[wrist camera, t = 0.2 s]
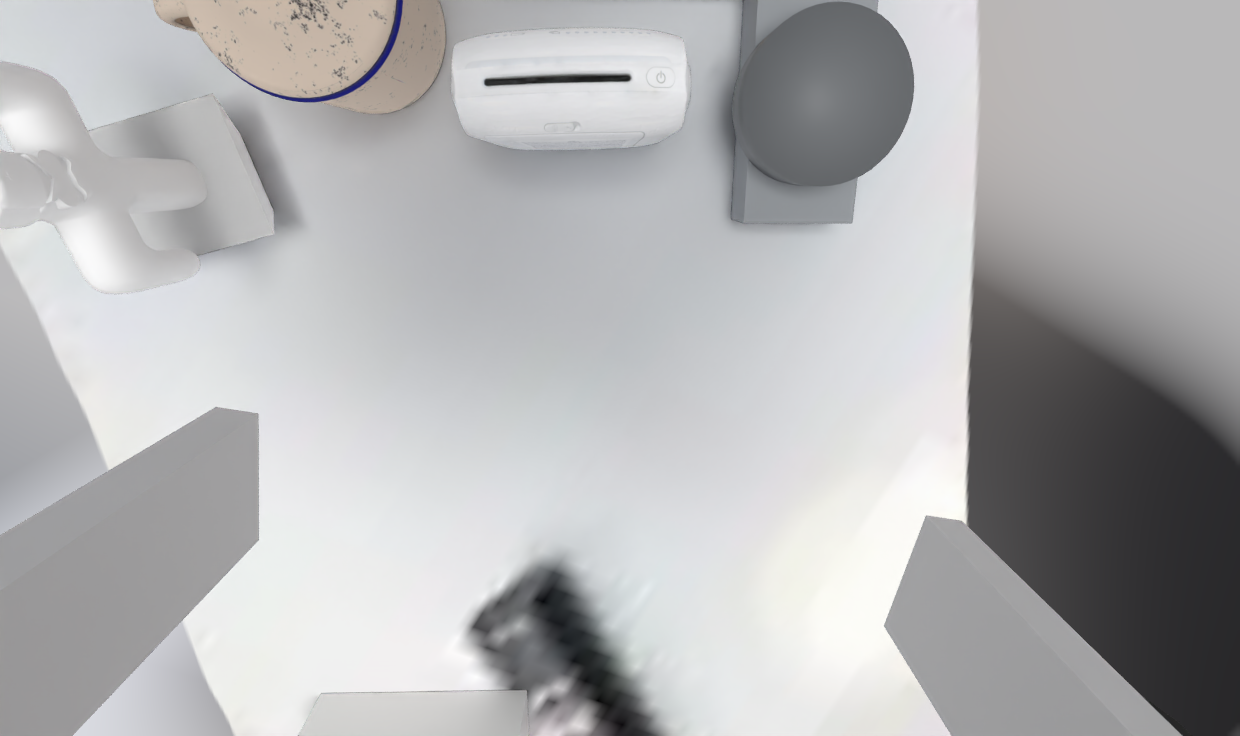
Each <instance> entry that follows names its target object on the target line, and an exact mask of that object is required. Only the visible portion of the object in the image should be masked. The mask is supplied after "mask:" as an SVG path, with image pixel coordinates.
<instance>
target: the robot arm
mask: <svg viewBox="0 0 1240 736" xmlns="http://www.w3.org/2000/svg"><path fill="white" fill-rule="evenodd" d="M258 540H259V425H258V413H251V412H245V411H238V410H231V409H225V408H218V407H215V408H214V409H212V410H210V411H209V412H207V413H205V414H203V415H202V416H200V417H198V418H197V419H195V420H193V421H192V422H190V423H188V424H187V425H185V426H183V427H182V428H180V429H178V430H177V431H175V432H173V433H171V434H170V435H168V436H166V437H165V438H163V439H161V440H160V441H158V442H156V443H155V444H153V445H151V446H150V447H148V448H146V449H145V450H143V451H141V452H140V453H138V454H136V455H134V456H133V457H131V458H129V459H128V460H126V461H124V462H123V463H121V464H119V465H118V466H116V467H114V468H113V469H111V470H109V471H108V472H106V473H104V474H102V475H101V476H99V477H97V478H96V479H94V480H93V481H91V482H89V483H87V484H86V485H84V486H82V487H81V488H79V489H77V490H76V491H74V492H72V493H71V494H69V495H67V496H65V497H64V498H62V499H60V500H59V501H57V502H56V503H54V504H52V505H51V506H49V507H47V508H45V509H44V510H42V511H41V512H39V513H37V514H35V515H34V516H32V517H30V518H29V519H27V520H25V521H24V522H22V523H20V524H18V525H17V526H15V527H14V528H12V529H10V530H8V531H7V532H5V533H3V534H2V535H0V736H73V735H74V733H75V732H76V731H77V730H78V729H79V728H80V727H81V726H82V725H83V724H84V723H85V722H86V721H87V720H88V719H89V718H90V717H91V716H92V715H93V714H94V712H95V711H96V710H97V709H98V708H99V707H100V706H101V705H102V704H103V703H104V702H105V701H106V700H107V699H108V698H109V696H111V695H112V693H114V691H115V690H116V689H117V688H118V687H119V686H120V685H121V684H122V683H123V682H124V681H125V680H126V679H127V678H128V677H129V676H130V674H132V673H133V671H134V670H135V669H136V668H137V667H138V666H139V665H140V664H141V663H142V662H143V661H144V660H145V659H146V658H147V657H148V656H149V655H150V654H151V653H152V652H153V651H154V649H155V648H156V647H157V646H158V645H159V644H160V643H161V642H162V641H163V640H164V639H165V638H166V637H167V636H168V635H169V634H170V633H171V631H173V629H174V628H175V627H176V626H177V625H178V624H179V623H180V622H181V621H182V620H183V619H184V618H185V617H186V616H187V615H188V614H189V613H190V612H191V611H192V610H193V609H194V607H195V606H196V605H197V604H198V603H199V602H200V601H201V600H202V599H203V598H204V597H205V596H206V595H207V594H208V593H209V592H210V591H211V590H212V589H213V588H214V586H215V585H216V584H217V583H218V582H219V581H220V580H221V579H222V578H223V577H224V576H225V575H226V574H227V573H228V572H229V571H230V570H231V569H232V568H233V567H234V566H235V564H236V563H237V562H238V561H239V560H240V559H241V558H242V557H243V556H244V555H245V554H246V553H247V552H248V551H249V550H250V549H251V548H252V547H253V546H254V545H255V543H256V542H257V541H258ZM884 627H885V628H886V630H887V632H888V633H889V635H890V636H891V638H892V640H893V641H894V643H895V645H896V646H897V648H898V649H899V651H900V653H901V654H902V656H903V658H904V659H905V661H906V662H907V664H908V666H909V667H910V669H911V671H912V672H913V674H914V675H915V677H916V679H917V680H918V682H919V684H920V685H921V687H922V688H923V690H924V692H925V693H926V695H927V697H928V698H929V700H930V701H931V703H932V705H933V706H934V708H935V710H936V711H937V713H938V714H939V716H940V718H941V719H942V721H943V723H944V724H945V726H946V727H947V729H948V731H949V732H950V734H951V736H1192V735H1191V734H1190V733H1189V732H1188V731H1187V730H1186V729H1185V728H1184V727H1183V726H1182V725H1181V724H1180V723H1179V722H1178V721H1176V720H1175V719H1174V718H1172V717H1171V716H1170V715H1168V714H1167V713H1165V712H1164V711H1163V710H1161V709H1160V708H1158V707H1157V706H1156V705H1154V704H1153V703H1151V702H1150V701H1149V700H1147V699H1146V698H1144V697H1143V696H1142V695H1140V694H1139V693H1138V692H1137V691H1136V690H1135V689H1134V688H1133V687H1132V686H1131V685H1130V684H1129V683H1128V682H1126V680H1125V679H1124V678H1123V677H1122V676H1120V675H1119V674H1118V673H1117V672H1116V671H1115V670H1114V669H1113V668H1112V667H1111V666H1110V665H1109V664H1108V663H1107V662H1106V661H1105V660H1104V659H1103V658H1102V657H1101V656H1100V655H1099V654H1098V653H1097V652H1096V651H1095V650H1094V649H1093V648H1092V647H1091V646H1090V645H1089V644H1088V643H1087V642H1085V641H1084V640H1083V639H1082V638H1081V637H1080V636H1079V635H1078V634H1077V633H1076V632H1075V631H1074V630H1073V629H1072V628H1071V627H1070V626H1069V625H1068V624H1067V623H1066V622H1065V621H1064V620H1063V619H1062V618H1061V617H1060V616H1059V615H1058V614H1057V613H1056V612H1055V611H1054V610H1053V609H1052V608H1051V607H1050V606H1049V605H1048V604H1046V602H1044V601H1043V600H1042V599H1041V598H1040V597H1039V596H1038V595H1037V594H1036V593H1035V592H1034V591H1033V590H1032V589H1031V588H1030V587H1029V586H1028V585H1027V584H1026V583H1025V582H1024V581H1023V580H1022V579H1021V578H1020V577H1019V576H1018V575H1017V574H1016V573H1015V572H1014V571H1012V569H1011V568H1009V567H1008V566H1007V565H1006V564H1005V563H1004V562H1003V561H1002V560H1001V559H1000V558H999V557H998V556H997V555H996V554H995V553H994V552H993V551H992V550H991V549H990V548H989V547H988V546H987V545H986V544H985V543H984V542H983V541H982V540H981V539H980V538H979V537H978V536H977V535H976V534H975V533H974V532H973V531H971V530H970V528H968V527H967V526H966V525H965V524H964V523H963V522H962V521H959V520H952V519H946V518H939V517H933V516H926V517H925V520H924V522H923V525H922V527H921V530H920V533H919V535H918V538H917V541H916V543H915V546H914V548H913V551H912V554H911V556H910V559H909V561H908V564H907V567H906V569H905V572H904V575H903V577H902V580H901V582H900V585H899V588H898V590H897V593H896V595H895V598H894V601H893V603H892V606H891V609H890V611H889V614H888V616H887V619H886V622H885V624H884Z"/></svg>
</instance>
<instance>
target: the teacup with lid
mask: <svg viewBox="0 0 1240 736" xmlns="http://www.w3.org/2000/svg"><path fill="white" fill-rule="evenodd" d="M153 3H154V7H155V11H156V13H157V15H158V16H159V18H160V19H162V20H163V21H164V22H166V23H168V24H170V25H173V26H176V27H179V28H182V29H186V30H190V31H195V32H198V34H199V35H200V37H201V38H202V40H203V41H204V43H205V44H206V45H207V46H208V48H209V49H210V50H211V51H212V52H213V53H214V54H215V56H216V57H217V58H218V59H219V60H220V61H221V62H222V63H223V64H224V65H225V66H226V67H227V68H228V69H229V70H230V71H232V72H233V73H234V74H235V75H237V76H238V77H239V78H241V79H242V80H243V81H245V82H247V83H248V84H250V85H251V86H253V87H255V88H257V89H259V90H261V91H263V92H265V93H267V94H270V95H272V96H275V97H279V98H282V99H286V100H291V101H297V102H321V103H324V104H328V105H332V106H336V107H340V108H344V109H348V110H352V111H356V112H360V113H367V114H383V113H390V112H394V111H397V110H400V109H402V108H405V107H407V106H409V105H410V104H412V103H414V102H415V101H416V100H417V99H419V98H420V97H421V96H422V95H423V94H424V93H425V92H426V91H427V90H428V88H429V87H430V86H431V84H432V83H433V81H434V80H435V78H436V76H437V74H438V72H439V69H440V67H441V64H442V60H443V56H444V51H445V41H446V32H445V22H444V16H443V12H442V8H441V5H440V2H439V0H153Z"/></svg>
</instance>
